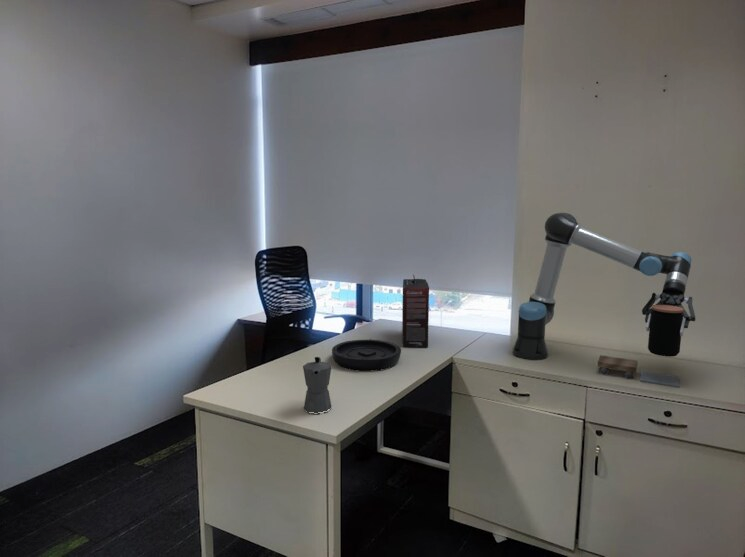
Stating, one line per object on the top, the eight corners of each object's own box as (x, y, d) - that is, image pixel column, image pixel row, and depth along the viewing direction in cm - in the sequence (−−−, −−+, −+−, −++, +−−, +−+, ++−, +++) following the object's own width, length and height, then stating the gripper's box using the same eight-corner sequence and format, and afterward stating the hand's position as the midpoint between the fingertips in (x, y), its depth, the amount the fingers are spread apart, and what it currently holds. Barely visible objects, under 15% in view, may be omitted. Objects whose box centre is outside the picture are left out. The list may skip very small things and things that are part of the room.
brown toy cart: (596, 373, 199) (597, 361, 199) (599, 366, 208) (600, 355, 207) (635, 379, 193) (636, 367, 192) (636, 372, 201) (637, 360, 200)
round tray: (365, 347, 236) (317, 361, 214) (365, 335, 235) (317, 348, 213) (414, 360, 215) (367, 378, 194) (415, 347, 214) (367, 363, 193)
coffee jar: (685, 357, 186) (690, 310, 183) (657, 357, 186) (661, 310, 183) (668, 348, 196) (672, 304, 193) (641, 348, 196) (645, 304, 193)
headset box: (401, 334, 258) (402, 271, 253) (425, 334, 257) (426, 271, 252) (402, 347, 234) (403, 279, 229) (428, 348, 233) (430, 279, 228)
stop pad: (640, 381, 191) (640, 379, 191) (640, 372, 201) (641, 370, 201) (679, 387, 185) (679, 386, 184) (678, 377, 195) (678, 376, 195)
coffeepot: (331, 417, 158) (330, 363, 155) (301, 417, 158) (300, 363, 155) (332, 398, 173) (332, 348, 170) (305, 398, 173) (304, 349, 170)
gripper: (709, 295, 192) (700, 342, 183) (643, 288, 207) (631, 332, 197) (709, 283, 187) (699, 331, 178) (641, 277, 202) (629, 321, 192)
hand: (663, 331), depth 187 cm, fingers closed on coffee jar, 11 cm apart
